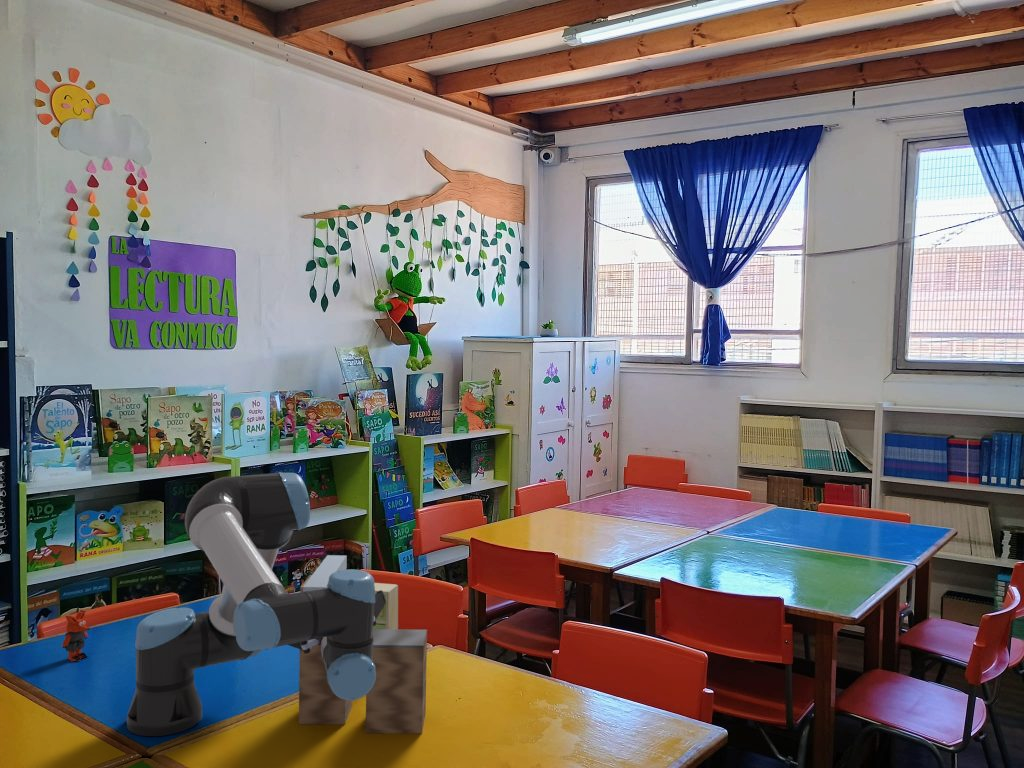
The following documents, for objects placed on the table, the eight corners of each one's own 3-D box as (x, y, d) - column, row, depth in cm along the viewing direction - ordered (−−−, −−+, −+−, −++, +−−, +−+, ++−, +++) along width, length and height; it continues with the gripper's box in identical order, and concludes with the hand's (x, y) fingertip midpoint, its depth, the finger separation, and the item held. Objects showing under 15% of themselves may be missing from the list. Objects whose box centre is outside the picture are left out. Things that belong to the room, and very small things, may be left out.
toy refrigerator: (357, 671, 210) (358, 589, 210) (369, 661, 218) (370, 581, 217) (387, 675, 209) (388, 592, 208) (398, 664, 216) (399, 584, 215)
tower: (298, 724, 181) (300, 587, 179) (308, 704, 191) (310, 574, 189) (345, 724, 181) (346, 587, 180) (352, 704, 191) (354, 575, 190)
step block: (365, 733, 177) (366, 644, 176) (371, 712, 187) (373, 629, 186) (422, 733, 178) (423, 645, 177) (425, 712, 188) (427, 629, 187)
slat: (302, 601, 170) (303, 586, 169) (327, 567, 196) (327, 555, 195) (325, 601, 170) (325, 587, 170) (346, 568, 196) (346, 555, 196)
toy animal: (77, 666, 210) (77, 619, 210) (59, 663, 211) (59, 617, 211) (100, 655, 218) (100, 609, 217) (82, 652, 219) (82, 607, 219)
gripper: (279, 691, 144) (273, 644, 164) (415, 634, 151) (394, 595, 171) (264, 653, 142) (261, 609, 162) (403, 597, 149) (383, 562, 169)
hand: (329, 602), depth 167 cm, fingers open, 13 cm apart
